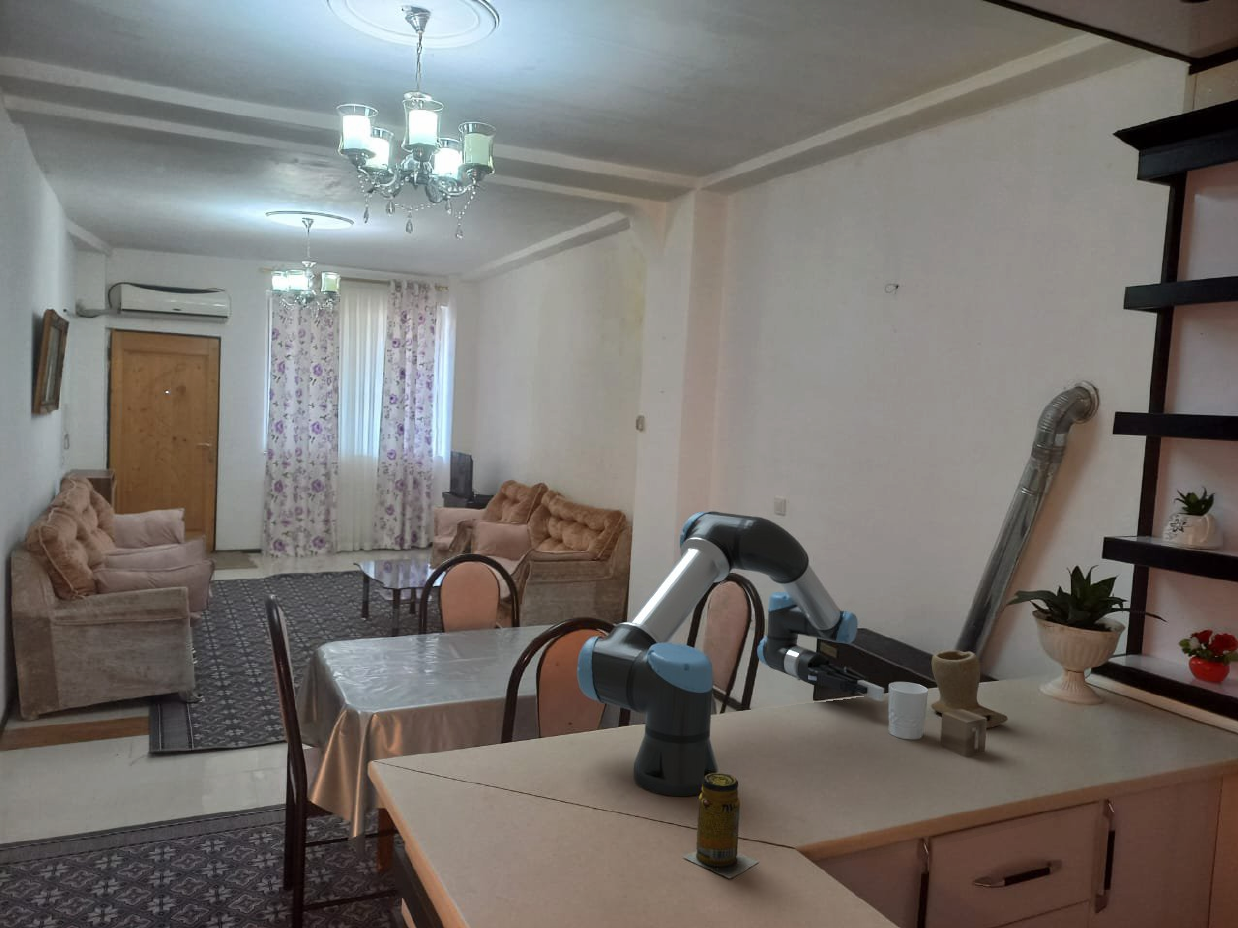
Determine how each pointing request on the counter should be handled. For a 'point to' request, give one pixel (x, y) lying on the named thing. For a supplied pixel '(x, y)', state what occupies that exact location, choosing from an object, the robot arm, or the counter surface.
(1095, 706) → the counter surface
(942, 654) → the stone cup
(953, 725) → the marked walnut block
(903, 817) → the counter surface
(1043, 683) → the counter surface
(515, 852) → the counter surface
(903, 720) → the white cup
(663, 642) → the robot arm
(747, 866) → the condiment
